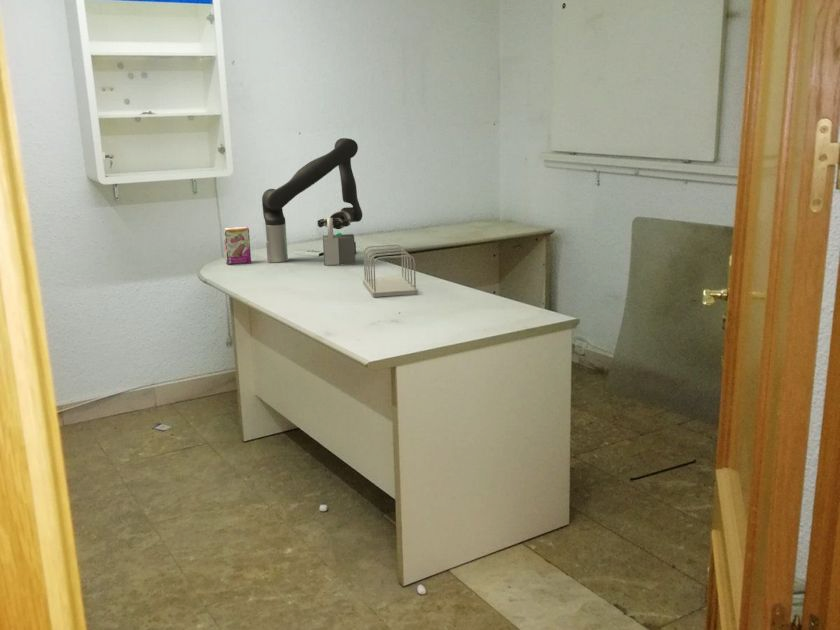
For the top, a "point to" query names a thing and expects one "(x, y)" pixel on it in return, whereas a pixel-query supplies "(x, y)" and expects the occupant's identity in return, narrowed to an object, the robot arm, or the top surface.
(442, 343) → the top surface
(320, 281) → the top surface
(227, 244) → the candy bar box
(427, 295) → the top surface
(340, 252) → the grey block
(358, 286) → the top surface
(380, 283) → the file sorter
